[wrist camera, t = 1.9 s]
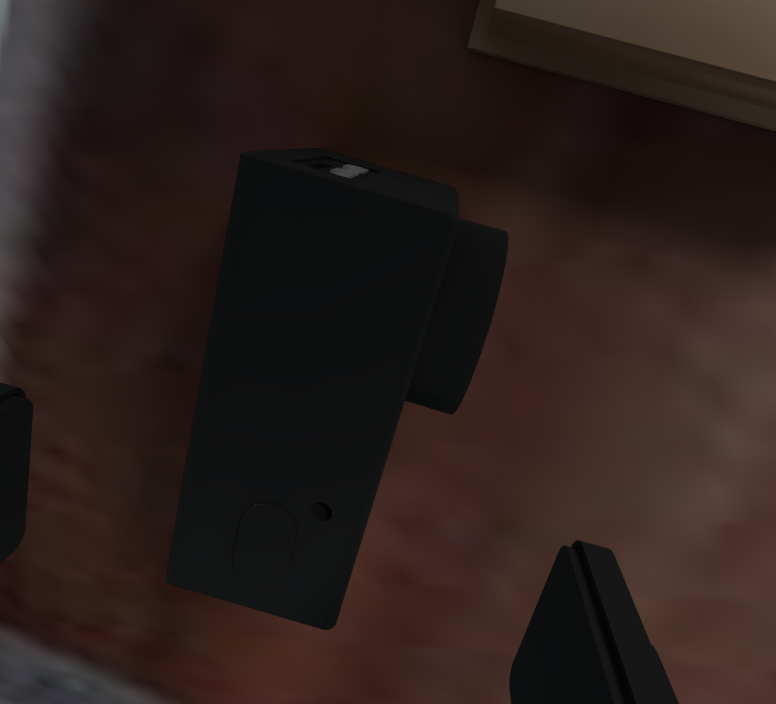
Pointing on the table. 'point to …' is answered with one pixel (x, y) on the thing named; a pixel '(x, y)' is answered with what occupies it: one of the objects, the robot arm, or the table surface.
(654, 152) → the table surface
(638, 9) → the plinth
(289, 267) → the digital camera
